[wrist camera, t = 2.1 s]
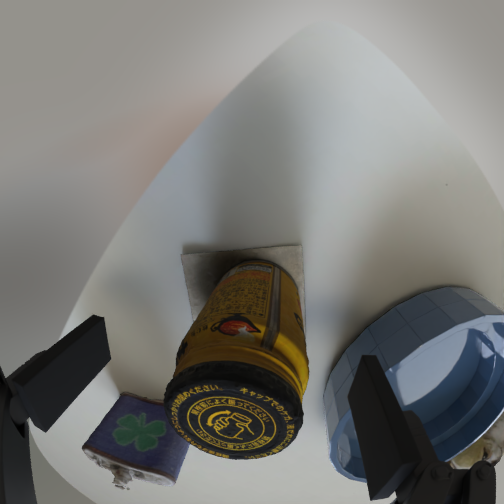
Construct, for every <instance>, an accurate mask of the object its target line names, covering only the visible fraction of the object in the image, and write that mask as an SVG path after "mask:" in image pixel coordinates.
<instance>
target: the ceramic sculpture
mask: <svg viewBox="0 0 504 504" xmlns="http://www.w3.org/2000/svg"><path fill="white" fill-rule="evenodd" d="M503 455H504V411H503V413H502V414H501V415H500V417H499V418H498V419H497V420H496V421H495V423H494V424H493V425H492V426H491V427H490V428H489V429H488V430H487V431H486V432H485V433H484V434H483V435H482V436H481V437H480V438H479V439H478V440H477V441H476V442H474V443H473V444H472V445H471V446H470V447H468V448H467V449H466V450H464V451H463V452H461V453H460V454H458V455H457V456H456V457H454V458H453V459H451V460H449V461H448V462H447V463H448V464H450V465H451V467H452V468H454V469H470V468H471V467H472V465H473V464H474V463H476V462H477V461H481V460H485V461H488V462H490V463H491V464H492V465H493V466H495V465H496V464H497V463H498V462H499V461H500V459H501V457H502V456H503Z"/></svg>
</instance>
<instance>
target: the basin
mask: <svg viewBox="0 0 504 504" xmlns="http://www.w3.org/2000/svg"><path fill="white" fill-rule="evenodd" d="M362 355H376V356H377V358H378V360H379V362H380V364H381V366H382V368H383V370H384V372H385V375H386V377H387V379H388V381H389V383H390V385H391V387H392V389H393V392H394V394H395V396H396V398H397V400H398V402H399V405H400V407H401V409H402V411H407V410H412V411H413V412H414V413H415V414H416V415H417V416H418V417H419V418H420V420H421V422H422V424H423V428H425V430H426V435H428V437H429V439H430V441H431V444H432V446H433V448H434V450H435V453H436V455H437V457H438V459H439V460H440V461H445V462H448V461H449V460H451V459H453V458H454V457H456V456H457V455H458V454H460V453H461V452H463V451H464V450H466V449H467V448H468V447H470V446H471V445H472V444H473V443H474V442H476V441H477V440H478V439H479V438H480V437H481V436H482V435H483V434H484V433H485V432H486V431H487V430H488V429H489V428H490V427H491V426H492V425H493V424H494V423H495V421H496V420H497V419H498V418H499V417H500V415H501V414H502V413H503V411H504V310H503V309H501V308H500V307H498V306H497V305H496V304H494V303H493V302H491V301H490V300H488V299H487V298H485V297H484V296H482V295H480V294H479V293H477V292H475V291H473V290H471V289H469V288H458V287H445V288H441V289H436V290H432V291H428V292H424V293H421V294H419V295H417V296H415V297H413V298H411V299H409V300H407V301H405V302H403V303H401V304H399V305H397V306H395V307H394V308H392V309H391V310H390V311H388V312H387V313H386V314H384V315H383V316H382V317H380V318H379V319H378V320H376V321H375V322H374V323H372V324H371V325H370V326H368V327H367V328H366V329H365V330H364V331H363V332H362V333H361V334H360V336H359V337H358V338H357V339H356V340H355V341H354V342H353V343H352V344H351V345H350V346H349V347H348V348H347V349H346V351H345V352H344V353H343V355H342V357H341V358H340V360H339V361H338V363H337V365H336V366H335V368H334V369H333V371H332V372H331V374H330V377H329V380H328V383H327V386H326V389H325V392H324V395H323V403H324V419H325V427H326V435H327V444H328V453H329V459H330V461H331V463H332V464H333V466H334V468H335V469H336V471H337V472H339V473H340V474H342V475H343V476H345V477H347V478H348V479H351V480H355V481H360V482H364V483H367V480H366V475H365V471H364V466H363V461H362V456H361V452H360V447H359V443H358V439H357V434H356V430H355V426H354V422H353V418H352V414H351V410H350V406H349V402H348V398H347V395H348V393H349V390H350V387H351V385H352V382H353V379H354V376H355V374H356V371H357V368H358V365H359V362H360V359H361V356H362Z"/></svg>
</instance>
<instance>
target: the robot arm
mask: <svg viewBox="0 0 504 504" xmlns="http://www.w3.org/2000/svg"><path fill="white" fill-rule="evenodd" d="M110 360H111V355H110V350H109V345H108V339H107V333H106V327H105V320H104V317H100V316H97V315H92V316H91V317H89V318H88V319H87V320H85V321H84V322H83V323H81V324H80V325H79V326H77V327H76V328H75V329H74V330H72V331H71V332H70V333H68V334H67V335H66V336H64V337H63V338H62V339H61V340H59V341H58V342H57V343H56V344H54V345H53V346H52V347H51V348H49V349H48V350H47V351H46V350H44V351H42V352H40V353H37V354H35V355H34V356H33V357H32V358H30V360H28V361H27V362H25V364H24V365H22V366H21V367H19V368H18V369H17V370H15V371H14V372H13V373H12V374H11V375H9V376H8V377H7V378H5V376H4V374H3V371H2V369H1V367H0V504H37V501H36V495H35V490H34V484H33V477H32V469H31V461H30V460H31V459H30V447H29V426H28V422H27V419H28V418H29V417H30V418H31V420H32V422H33V424H34V425H35V426H36V427H38V428H39V429H41V430H42V431H44V432H45V433H46V432H47V431H48V430H49V429H50V427H51V426H52V425H53V424H54V423H55V422H56V420H57V419H58V418H59V417H60V416H61V415H62V414H63V412H64V411H65V410H66V409H67V408H68V407H69V406H70V404H71V403H72V402H73V401H74V400H75V399H76V398H77V397H78V395H79V394H80V393H81V392H82V391H83V390H84V389H85V388H86V386H87V385H88V384H89V383H90V382H91V381H92V380H93V379H94V378H95V377H96V375H97V374H98V373H99V372H100V371H101V370H102V369H103V368H104V367H105V366H106V364H107V363H108V362H109V361H110ZM347 398H348V402H349V406H350V410H351V414H352V418H353V422H354V426H355V430H356V434H357V439H358V443H359V447H360V452H361V456H362V461H363V466H364V471H365V475H366V480H367V485H368V491H369V496H370V501H372V500H378V499H384V498H388V497H389V496H390V495H391V494H392V493H393V492H394V491H395V492H396V496H397V498H396V499H395V500H394V501H393V502H392V503H390V504H495V503H496V473H495V468H494V466H493V465H492V464H491V463H490V462H488V461H485V460H481V461H477V462H476V463H474V464H473V465H472V467H471V468H470V469H453V468H452V467H451V465H450V464H448V463H447V462H445V461H440V460H439V459H438V457H437V455H436V453H435V450H434V448H433V446H432V444H431V441H430V439H429V437H428V435H426V430H425V428H423V424H422V422H421V420H420V418H419V417H418V416H417V415H416V414H415V413H414V412H413V411H412V410H407V411H402V409H401V407H400V405H399V402H398V400H397V398H396V396H395V394H394V392H393V389H392V387H391V385H390V383H389V381H388V379H387V377H386V375H385V372H384V370H383V368H382V366H381V364H380V362H379V360H378V358H377V356H376V355H362V356H361V359H360V362H359V365H358V368H357V371H356V374H355V376H354V379H353V382H352V385H351V387H350V390H349V393H348V395H347Z"/></svg>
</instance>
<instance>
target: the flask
mask: <svg viewBox="0 0 504 504" xmlns="http://www.w3.org/2000/svg"><path fill="white" fill-rule="evenodd" d="M120 395H121V396H120V397H119V399H118V400H117V401H116V402H115V404H114V405H113V407H112V408H111V409H110V411H109V412H108V413H107V414H106V415H105V417H104V418H103V420H102V421H101V423H100V424H99V425H98V426H97V428H96V429H95V431H94V432H93V433H92V434H91V435H90V437H89V439H88V440H87V441H86V442H85V443H84V445H83V446H82V450H83V451H84V453H85V454H86V455H87V457H88V458H89V459H90V460H92V461H94V462H95V463H96V465H97V466H99V467H102V468H103V467H104V468H105V469H108V470H110V471H111V472H112V474H113V475H114V476H115V478H114V482H112V483H114V484H117V485H115V487H117V488H120V489H125V488H124V487H126V484H127V483H128V482H129V481H132V477H133V478H136V479H139V480H143V481H147V482H151V483H156V484H160V485H165V486H172V485H174V484H175V483H176V480H177V478H178V475H179V472H180V469H181V466H182V464H183V461H184V459H185V456H186V453H187V451H188V448H189V445H190V443H188V442H187V441H186V440H184V439H183V438H182V437H180V436H179V435H178V434H177V433H176V432H175V430H174V429H173V428H172V426H171V425H170V424H169V422H168V419H167V416H166V414H165V410H164V406H163V403H164V401H162V400H157V399H156V400H148V399H147V398H141V397H138V396H137V395H132V394H129V393H127V392H125V393H122V394H120ZM100 464H101V465H100ZM118 485H121V486H118ZM123 486H124V487H123ZM127 490H129V488H127Z"/></svg>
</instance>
